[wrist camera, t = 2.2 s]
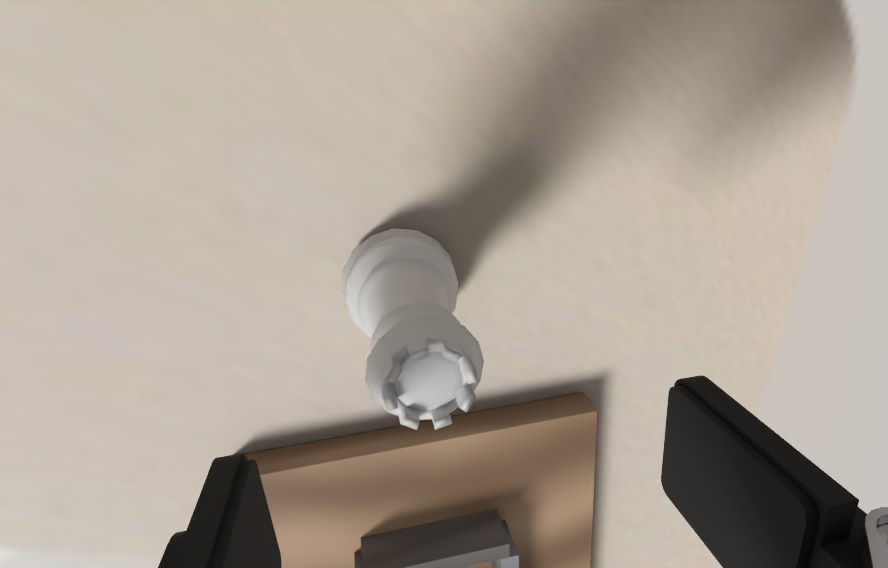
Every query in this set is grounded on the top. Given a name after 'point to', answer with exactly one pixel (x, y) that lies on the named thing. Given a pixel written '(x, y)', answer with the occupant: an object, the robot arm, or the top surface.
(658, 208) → the top surface
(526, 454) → the jig board
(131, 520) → the top surface
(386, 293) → the rook chess piece
